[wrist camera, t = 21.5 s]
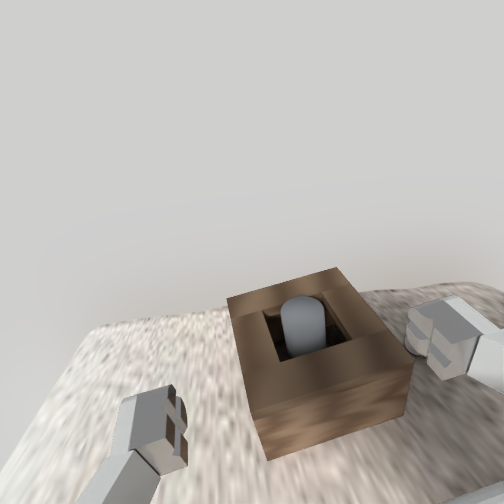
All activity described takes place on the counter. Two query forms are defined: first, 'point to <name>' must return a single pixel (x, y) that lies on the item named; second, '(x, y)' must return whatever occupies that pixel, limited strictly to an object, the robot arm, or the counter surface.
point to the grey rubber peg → (303, 326)
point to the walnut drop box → (317, 366)
